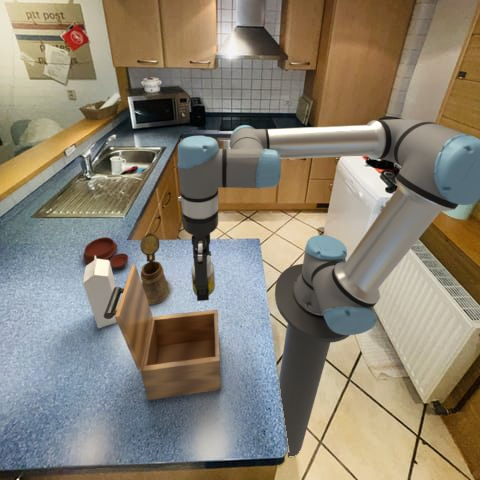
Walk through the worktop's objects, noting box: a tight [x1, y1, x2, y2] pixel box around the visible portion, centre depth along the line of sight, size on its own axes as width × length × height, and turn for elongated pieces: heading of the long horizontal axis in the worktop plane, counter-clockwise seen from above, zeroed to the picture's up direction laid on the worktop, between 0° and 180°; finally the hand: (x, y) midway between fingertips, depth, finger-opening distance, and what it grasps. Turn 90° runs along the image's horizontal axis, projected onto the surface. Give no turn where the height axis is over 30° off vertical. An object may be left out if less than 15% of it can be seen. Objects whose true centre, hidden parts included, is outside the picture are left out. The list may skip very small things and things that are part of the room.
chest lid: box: [104, 264, 153, 371], centre depth 55 cm, size 18×12×5 cm
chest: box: [139, 309, 222, 401], centre depth 62 cm, size 17×12×12 cm
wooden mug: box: [139, 232, 171, 305], centre depth 82 cm, size 9×14×18 cm, turn 17°
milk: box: [82, 255, 121, 329], centre depth 72 cm, size 6×6×22 cm
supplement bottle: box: [191, 255, 216, 297], centre depth 60 cm, size 5×5×10 cm
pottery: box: [82, 237, 129, 270], centre depth 95 cm, size 12×20×4 cm, turn 61°
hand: (203, 287), depth 62 cm, fingers closed on supplement bottle, 5 cm apart
